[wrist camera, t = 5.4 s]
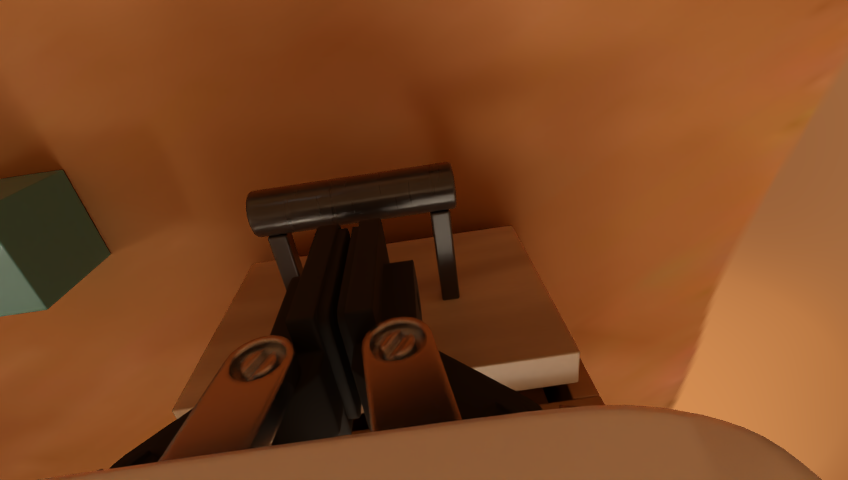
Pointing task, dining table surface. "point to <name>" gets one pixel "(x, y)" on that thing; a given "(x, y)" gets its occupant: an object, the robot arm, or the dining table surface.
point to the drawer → (436, 276)
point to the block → (43, 241)
